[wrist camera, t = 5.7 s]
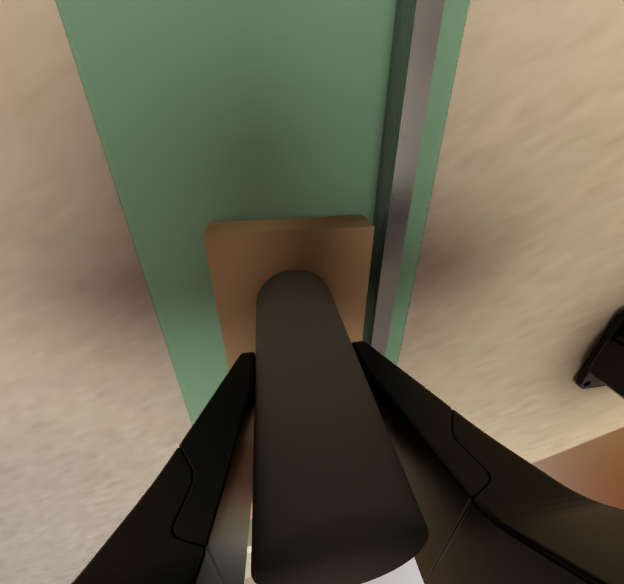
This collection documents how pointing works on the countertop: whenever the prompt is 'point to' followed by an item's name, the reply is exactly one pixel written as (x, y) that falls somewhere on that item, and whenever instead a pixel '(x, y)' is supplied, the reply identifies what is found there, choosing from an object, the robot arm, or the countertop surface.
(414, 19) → the guide rail
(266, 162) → the mat
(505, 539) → the robot arm
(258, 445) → the striker sled
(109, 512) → the countertop surface
